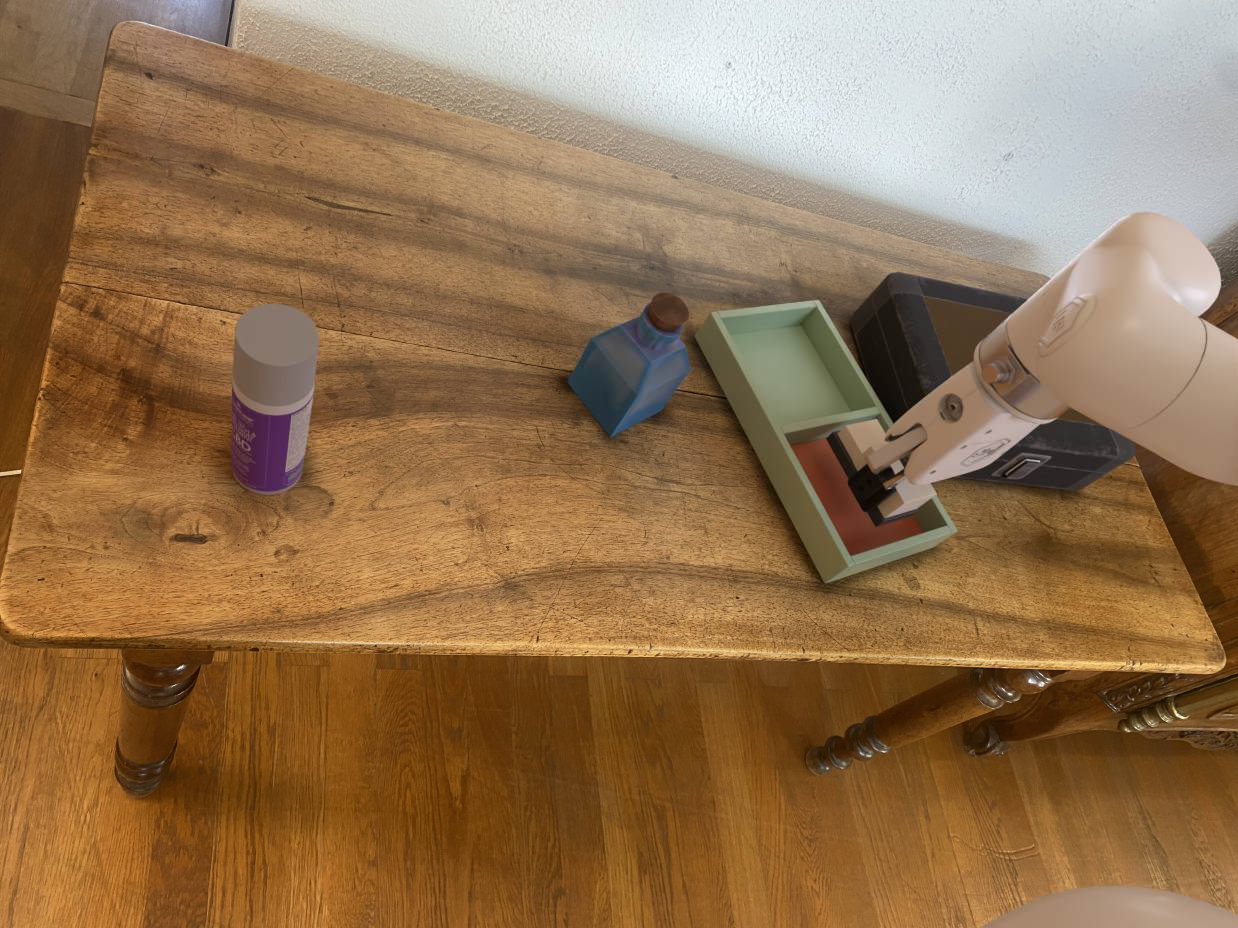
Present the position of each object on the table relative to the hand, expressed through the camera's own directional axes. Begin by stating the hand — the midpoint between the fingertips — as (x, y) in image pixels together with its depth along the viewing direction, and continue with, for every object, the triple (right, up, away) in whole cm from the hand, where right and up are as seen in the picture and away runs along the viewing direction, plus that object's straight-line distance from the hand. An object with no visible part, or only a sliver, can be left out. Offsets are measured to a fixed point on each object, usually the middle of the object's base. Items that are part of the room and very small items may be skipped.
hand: (880, 489), depth 76 cm
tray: (-5, +5, +6) cm, 9 cm away
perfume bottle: (-23, +8, 0) cm, 24 cm away
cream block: (-1, +1, +1) cm, 2 cm away
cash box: (+14, +8, +17) cm, 24 cm away
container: (-47, +2, -14) cm, 50 cm away
